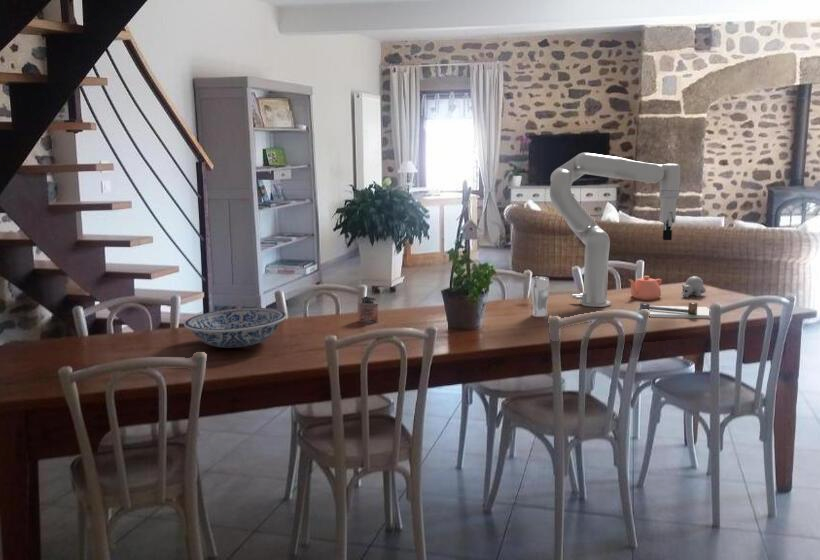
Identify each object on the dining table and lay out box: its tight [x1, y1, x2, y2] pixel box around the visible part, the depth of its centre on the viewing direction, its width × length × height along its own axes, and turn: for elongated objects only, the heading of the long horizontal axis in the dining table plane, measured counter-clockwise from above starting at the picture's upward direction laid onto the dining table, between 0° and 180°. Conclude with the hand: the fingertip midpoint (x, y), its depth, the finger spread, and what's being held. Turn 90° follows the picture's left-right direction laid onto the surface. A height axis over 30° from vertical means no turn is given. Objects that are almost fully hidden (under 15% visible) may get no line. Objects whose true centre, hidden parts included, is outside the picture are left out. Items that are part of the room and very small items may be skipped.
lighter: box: [358, 295, 379, 324], centre depth 290 cm, size 8×3×10 cm, turn 62°
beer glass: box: [530, 276, 550, 318], centre depth 295 cm, size 7×7×15 cm
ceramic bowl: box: [183, 307, 287, 349], centre depth 259 cm, size 34×34×10 cm
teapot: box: [629, 275, 662, 301], centre depth 327 cm, size 12×18×10 cm
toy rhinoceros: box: [681, 275, 707, 299], centre depth 328 cm, size 7×12×8 cm, turn 119°
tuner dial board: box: [638, 305, 710, 319], centre depth 296 cm, size 26×17×1 cm, turn 81°
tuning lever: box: [639, 301, 699, 314], centre depth 294 cm, size 21×4×4 cm, turn 61°
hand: (667, 239), depth 308 cm, fingers closed
